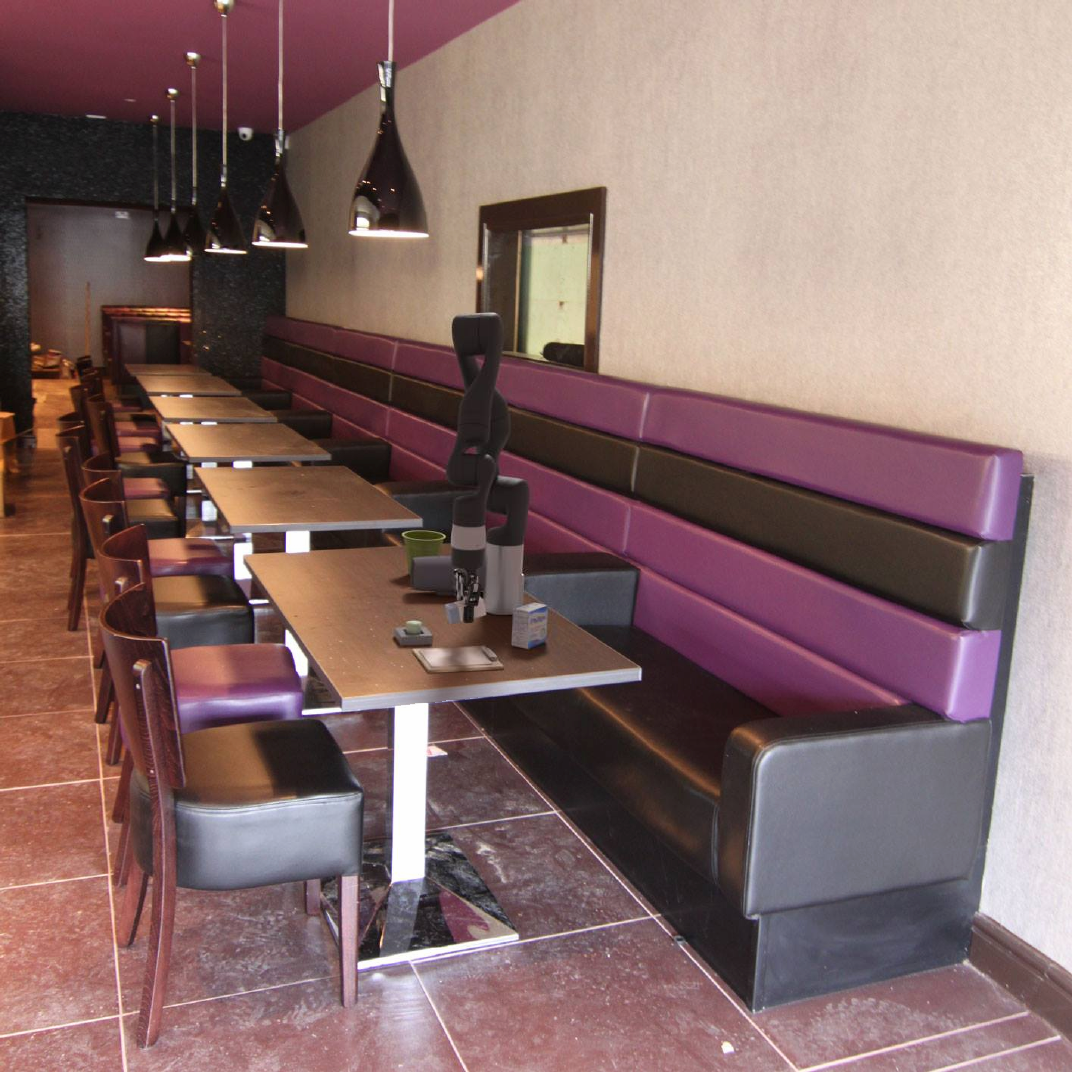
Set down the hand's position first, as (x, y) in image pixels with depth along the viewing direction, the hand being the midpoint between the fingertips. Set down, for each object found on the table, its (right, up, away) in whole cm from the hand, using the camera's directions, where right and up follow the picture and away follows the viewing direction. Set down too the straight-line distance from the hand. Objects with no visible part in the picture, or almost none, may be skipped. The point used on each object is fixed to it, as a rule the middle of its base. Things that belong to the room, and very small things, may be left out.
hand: (465, 619), depth 247 cm
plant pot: (-16, +8, +59) cm, 61 cm away
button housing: (-12, -5, 0) cm, 12 cm away
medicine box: (+14, -6, +3) cm, 15 cm away
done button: (-11, -3, 0) cm, 12 cm away
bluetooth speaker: (-5, +3, +42) cm, 42 cm away
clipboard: (-1, -8, -12) cm, 14 cm away
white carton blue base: (0, +1, 0) cm, 1 cm away
